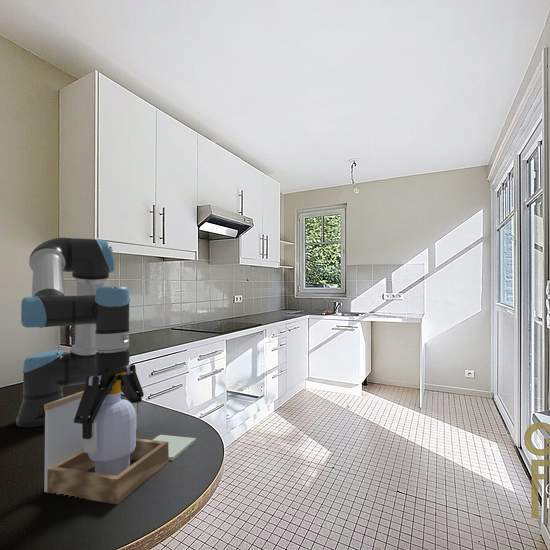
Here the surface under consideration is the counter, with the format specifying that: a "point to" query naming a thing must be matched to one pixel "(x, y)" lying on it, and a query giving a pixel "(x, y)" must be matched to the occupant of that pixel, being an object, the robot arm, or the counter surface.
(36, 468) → the counter surface
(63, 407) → the lid
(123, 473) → the frame
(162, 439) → the trivet
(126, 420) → the soap bottle
